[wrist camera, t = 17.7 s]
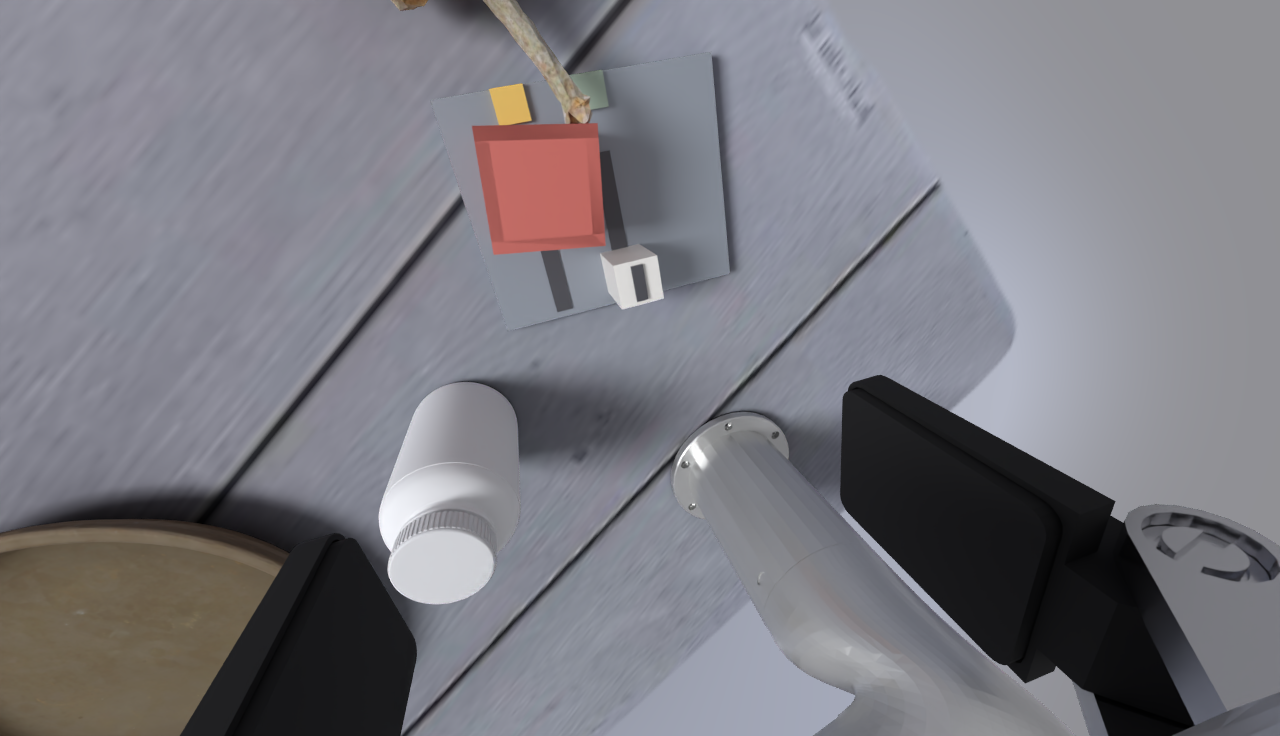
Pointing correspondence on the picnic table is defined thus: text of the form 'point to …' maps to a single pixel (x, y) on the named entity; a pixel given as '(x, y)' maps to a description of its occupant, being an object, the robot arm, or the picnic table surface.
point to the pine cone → (533, 56)
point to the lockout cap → (541, 186)
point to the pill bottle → (452, 494)
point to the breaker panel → (610, 188)
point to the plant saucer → (121, 622)
